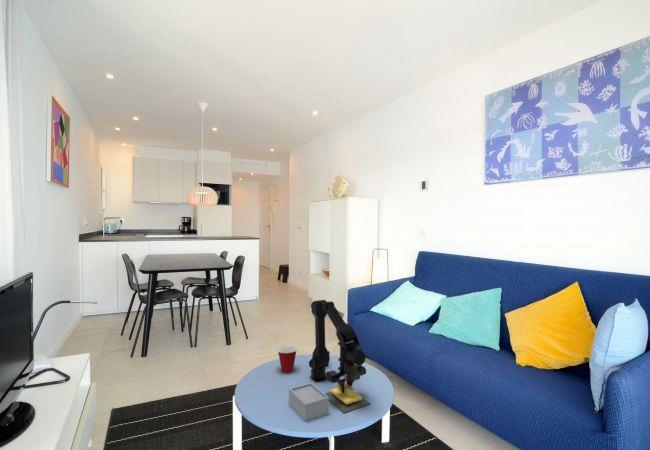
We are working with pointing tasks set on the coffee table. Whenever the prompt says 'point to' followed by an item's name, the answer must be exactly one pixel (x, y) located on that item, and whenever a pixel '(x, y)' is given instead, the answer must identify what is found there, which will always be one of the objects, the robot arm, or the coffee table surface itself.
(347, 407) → the mat
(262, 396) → the coffee table surface
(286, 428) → the coffee table surface
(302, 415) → the box
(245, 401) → the coffee table surface
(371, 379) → the coffee table surface
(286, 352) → the plastic cup
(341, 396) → the lid
